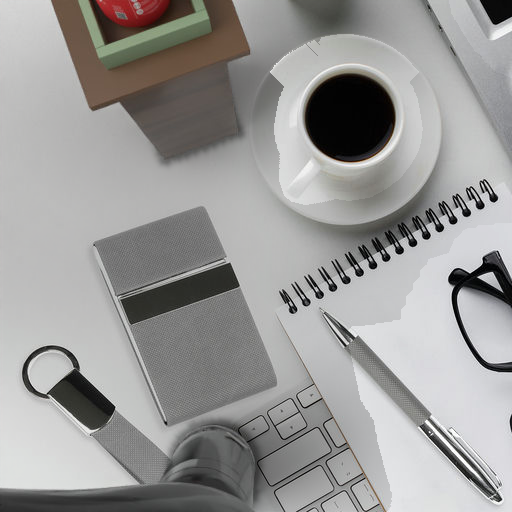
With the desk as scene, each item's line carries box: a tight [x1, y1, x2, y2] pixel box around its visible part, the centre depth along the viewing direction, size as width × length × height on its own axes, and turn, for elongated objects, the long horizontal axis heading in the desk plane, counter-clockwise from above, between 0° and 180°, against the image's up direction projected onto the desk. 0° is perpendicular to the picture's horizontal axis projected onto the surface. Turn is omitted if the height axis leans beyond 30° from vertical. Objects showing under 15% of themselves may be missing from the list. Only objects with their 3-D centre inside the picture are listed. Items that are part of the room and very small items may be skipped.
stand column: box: [118, 63, 239, 160], centre depth 63 cm, size 9×9×29 cm
